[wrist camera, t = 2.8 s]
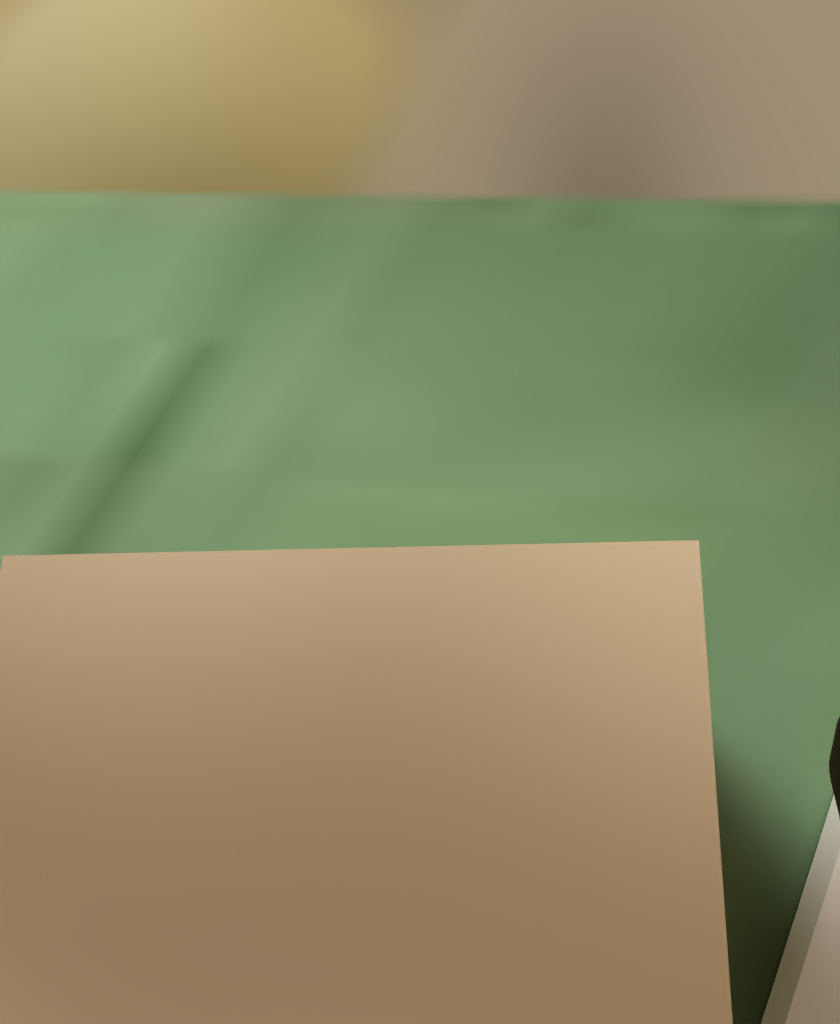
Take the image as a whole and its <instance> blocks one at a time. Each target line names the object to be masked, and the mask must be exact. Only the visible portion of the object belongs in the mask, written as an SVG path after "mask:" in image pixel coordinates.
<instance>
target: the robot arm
mask: <svg viewBox="0 0 840 1024" xmlns="http://www.w3.org/2000/svg"><path fill="white" fill-rule="evenodd" d="M829 772H830V779H831V783H832V788H833V792H834V796H835V801H836V805H837V809H838V814H839V818H840V717H839V719H838V722H837V726H836V730H835V735H834V740H833V745H832V749H831V754H830V759H829Z"/></svg>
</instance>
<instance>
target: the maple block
mask: <svg viewBox="0 0 840 1024" xmlns="http://www.w3.org/2000/svg"><path fill="white" fill-rule="evenodd" d="M0 1024H733V1019H732V1005H731V991H730V977H729V963H728V948H727V934H726V920H725V906H724V892H723V877H722V863H721V849H720V835H719V821H718V806H717V792H716V778H715V764H714V749H713V735H712V721H711V707H710V693H709V678H708V664H707V650H706V636H705V622H704V607H703V593H702V579H701V565H700V551H699V540H692V541H647V542H602V543H558V544H513V545H469V546H424V547H380V548H335V549H290V550H246V551H201V552H157V553H112V554H67V555H23V556H3V559H2V565H1V571H0Z"/></svg>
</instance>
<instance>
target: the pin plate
mask: <svg viewBox="0 0 840 1024" xmlns="http://www.w3.org/2000/svg"><path fill="white" fill-rule="evenodd" d="M761 1024H840V818H839V814H838V809H837V805H836V801H835V796H833V799H832V802H831V805H830V808H829V812H828V815H827V818H826V821H825V824H824V827H823V830H822V834H821V837H820V840H819V843H818V846H817V849H816V852H815V855H814V859H813V862H812V865H811V868H810V871H809V874H808V877H807V881H806V884H805V887H804V890H803V893H802V896H801V899H800V902H799V906H798V909H797V912H796V915H795V918H794V921H793V924H792V927H791V931H790V934H789V937H788V940H787V943H786V946H785V949H784V953H783V956H782V959H781V962H780V965H779V968H778V971H777V974H776V978H775V981H774V984H773V987H772V990H771V993H770V996H769V999H768V1003H767V1006H766V1009H765V1012H764V1015H763V1018H762V1021H761Z"/></svg>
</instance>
